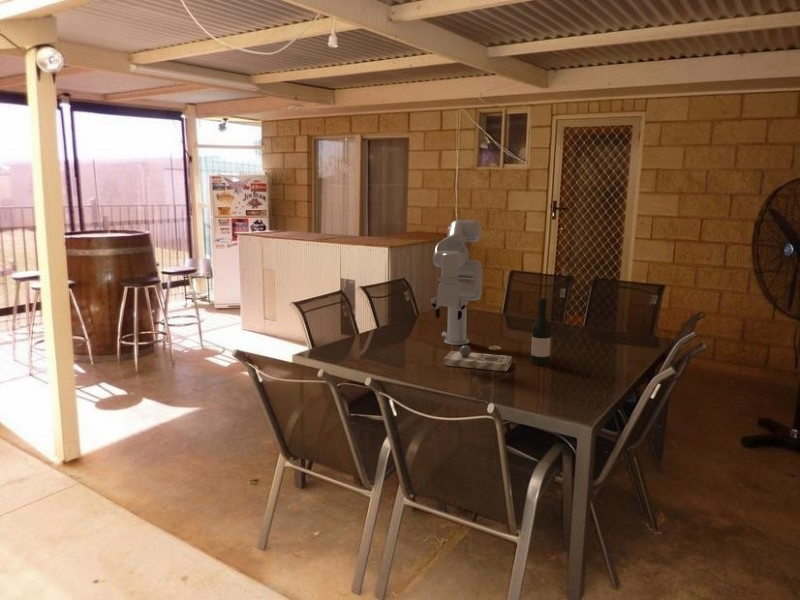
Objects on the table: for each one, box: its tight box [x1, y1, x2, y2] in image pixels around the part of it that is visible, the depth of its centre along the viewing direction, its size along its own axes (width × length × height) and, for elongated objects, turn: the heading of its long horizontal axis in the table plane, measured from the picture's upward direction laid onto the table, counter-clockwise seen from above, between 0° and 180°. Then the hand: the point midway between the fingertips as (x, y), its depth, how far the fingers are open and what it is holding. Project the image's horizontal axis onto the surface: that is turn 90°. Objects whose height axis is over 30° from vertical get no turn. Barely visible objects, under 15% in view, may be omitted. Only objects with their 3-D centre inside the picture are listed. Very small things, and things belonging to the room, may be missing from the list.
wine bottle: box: [530, 296, 552, 367], centre depth 269 cm, size 8×8×30 cm
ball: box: [459, 344, 472, 356], centre depth 272 cm, size 5×5×5 cm
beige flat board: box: [443, 350, 513, 372], centre depth 270 cm, size 28×14×3 cm, turn 71°
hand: (448, 318), depth 272 cm, fingers open, 9 cm apart
